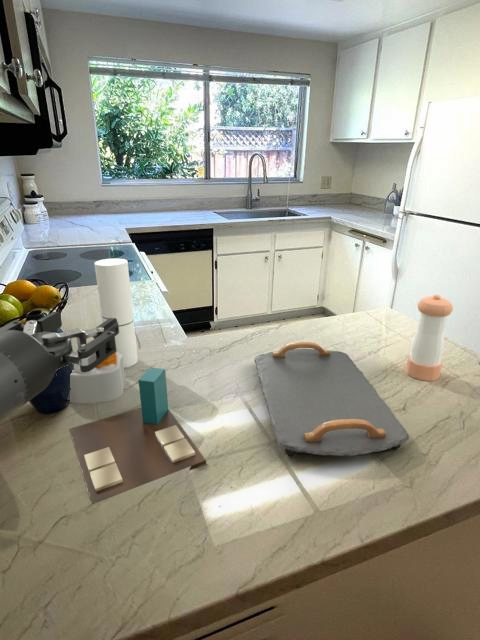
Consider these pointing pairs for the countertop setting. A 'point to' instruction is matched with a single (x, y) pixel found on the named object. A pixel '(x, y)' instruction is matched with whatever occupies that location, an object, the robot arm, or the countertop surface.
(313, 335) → the countertop surface
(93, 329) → the robot arm
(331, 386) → the serving tray
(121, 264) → the cylindrical container
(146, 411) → the teal rectangular block
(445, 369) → the countertop surface
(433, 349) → the pepper shaker
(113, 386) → the lumpy-topped squat cylinder
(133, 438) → the word board
